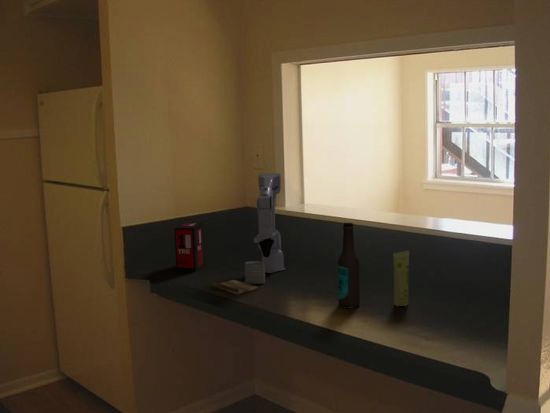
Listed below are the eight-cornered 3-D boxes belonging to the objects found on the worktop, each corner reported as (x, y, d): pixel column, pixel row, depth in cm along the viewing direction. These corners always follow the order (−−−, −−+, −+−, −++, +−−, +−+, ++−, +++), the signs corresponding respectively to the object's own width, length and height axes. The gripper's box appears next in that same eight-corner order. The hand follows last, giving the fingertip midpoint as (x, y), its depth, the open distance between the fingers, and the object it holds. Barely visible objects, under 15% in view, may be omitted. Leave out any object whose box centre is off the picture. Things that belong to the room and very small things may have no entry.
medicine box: (265, 281, 257) (264, 261, 256) (264, 284, 252) (263, 263, 251) (246, 281, 258) (245, 261, 256) (245, 284, 253) (244, 263, 252)
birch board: (233, 281, 258) (233, 277, 257) (258, 288, 246) (258, 283, 246) (212, 286, 251) (212, 282, 250) (236, 294, 239) (236, 289, 238)
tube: (407, 308, 216) (407, 253, 213) (392, 307, 217) (392, 253, 215) (409, 303, 221) (409, 250, 218) (394, 302, 223) (394, 249, 220)
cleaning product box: (195, 272, 276) (193, 228, 274) (176, 271, 278) (174, 228, 275) (204, 263, 293) (203, 222, 290) (186, 263, 294) (184, 222, 291)
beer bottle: (334, 304, 223) (333, 222, 218) (352, 301, 226) (352, 220, 221) (345, 310, 216) (344, 225, 211) (363, 306, 219) (363, 223, 214)
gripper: (267, 221, 264) (268, 252, 266) (247, 226, 252) (248, 259, 254) (281, 222, 260) (282, 254, 262) (261, 228, 248) (262, 260, 250)
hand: (266, 256), depth 258 cm, fingers closed
